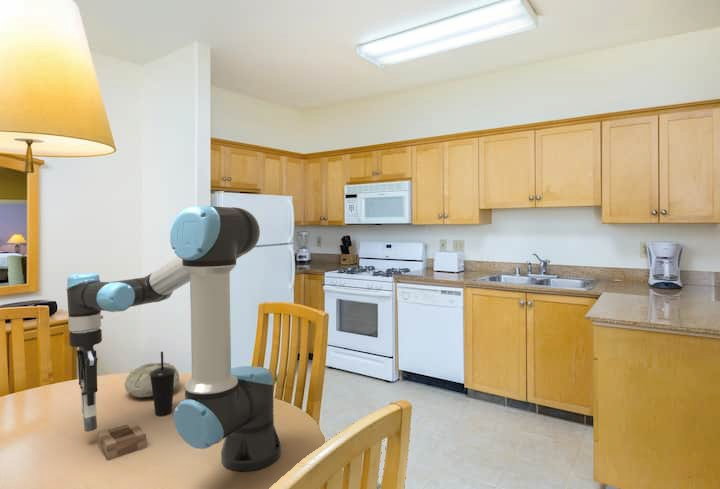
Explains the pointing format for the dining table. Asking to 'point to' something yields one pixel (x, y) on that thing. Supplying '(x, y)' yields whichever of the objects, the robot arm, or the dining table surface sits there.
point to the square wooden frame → (121, 440)
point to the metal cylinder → (89, 422)
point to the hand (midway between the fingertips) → (89, 414)
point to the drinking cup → (162, 389)
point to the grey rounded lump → (145, 380)
